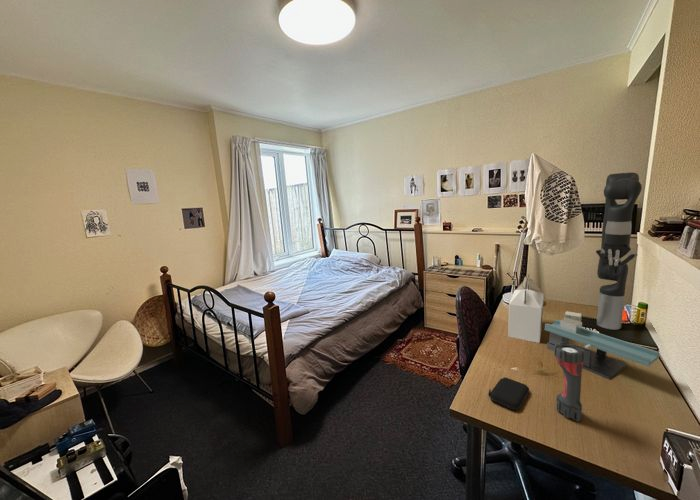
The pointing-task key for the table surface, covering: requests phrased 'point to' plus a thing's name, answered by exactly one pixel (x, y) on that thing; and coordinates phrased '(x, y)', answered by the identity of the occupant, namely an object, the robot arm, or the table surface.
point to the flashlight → (570, 379)
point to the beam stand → (598, 362)
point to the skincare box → (573, 315)
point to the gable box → (526, 312)
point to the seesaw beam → (603, 343)
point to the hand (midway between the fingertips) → (613, 274)
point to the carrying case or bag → (509, 393)
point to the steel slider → (571, 325)
